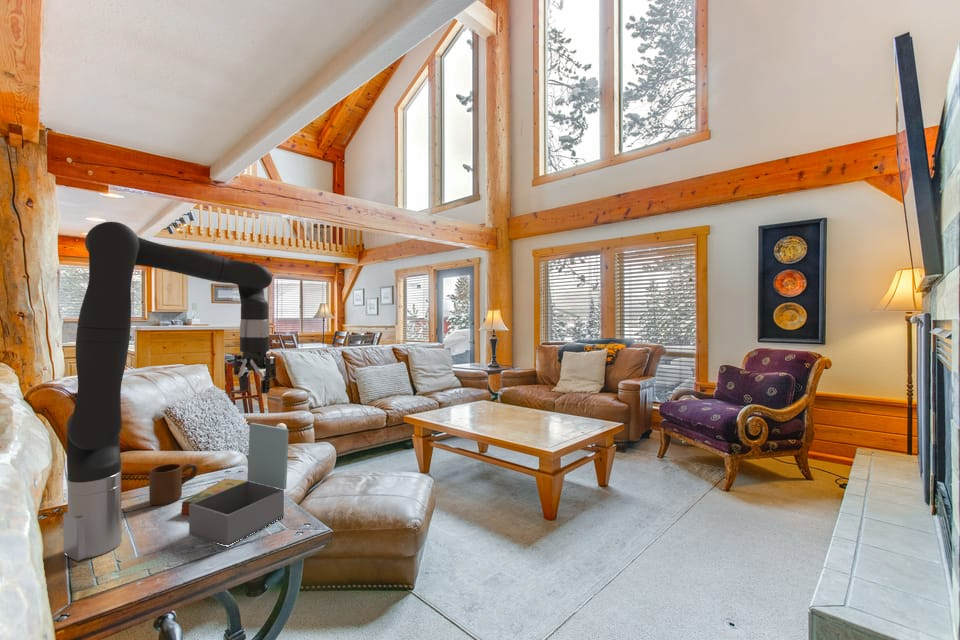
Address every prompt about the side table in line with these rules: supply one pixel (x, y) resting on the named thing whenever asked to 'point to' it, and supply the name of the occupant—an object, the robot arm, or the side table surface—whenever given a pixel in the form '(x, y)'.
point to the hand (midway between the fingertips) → (254, 391)
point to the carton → (209, 493)
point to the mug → (168, 482)
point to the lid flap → (268, 455)
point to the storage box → (235, 512)
